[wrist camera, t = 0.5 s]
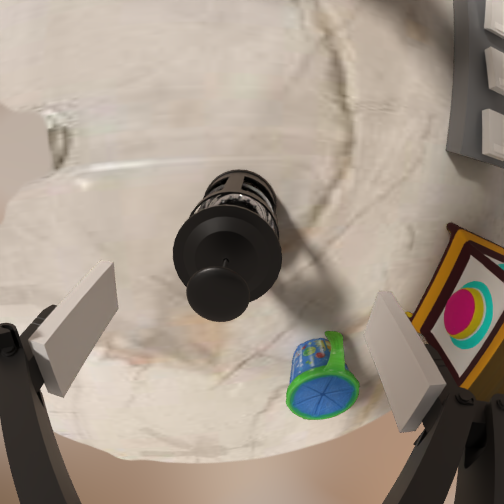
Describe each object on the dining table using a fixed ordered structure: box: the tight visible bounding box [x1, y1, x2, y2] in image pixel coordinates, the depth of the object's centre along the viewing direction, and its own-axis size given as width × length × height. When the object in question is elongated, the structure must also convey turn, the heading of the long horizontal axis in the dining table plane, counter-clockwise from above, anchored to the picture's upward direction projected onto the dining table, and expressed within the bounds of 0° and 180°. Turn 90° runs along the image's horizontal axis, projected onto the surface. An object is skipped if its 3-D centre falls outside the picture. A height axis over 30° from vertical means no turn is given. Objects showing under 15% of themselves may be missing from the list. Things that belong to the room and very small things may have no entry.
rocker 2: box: [485, 47, 504, 96], centre depth 27 cm, size 6×4×2 cm, turn 175°
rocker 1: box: [484, 0, 504, 39], centre depth 24 cm, size 6×4×2 cm, turn 175°
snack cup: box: [286, 331, 360, 420], centre depth 47 cm, size 16×10×10 cm
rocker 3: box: [482, 109, 504, 161], centre depth 31 cm, size 6×4×2 cm, turn 175°
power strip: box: [446, 0, 504, 168], centre depth 29 cm, size 32×9×4 cm, turn 175°
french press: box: [173, 170, 282, 322], centre depth 32 cm, size 12×9×23 cm
